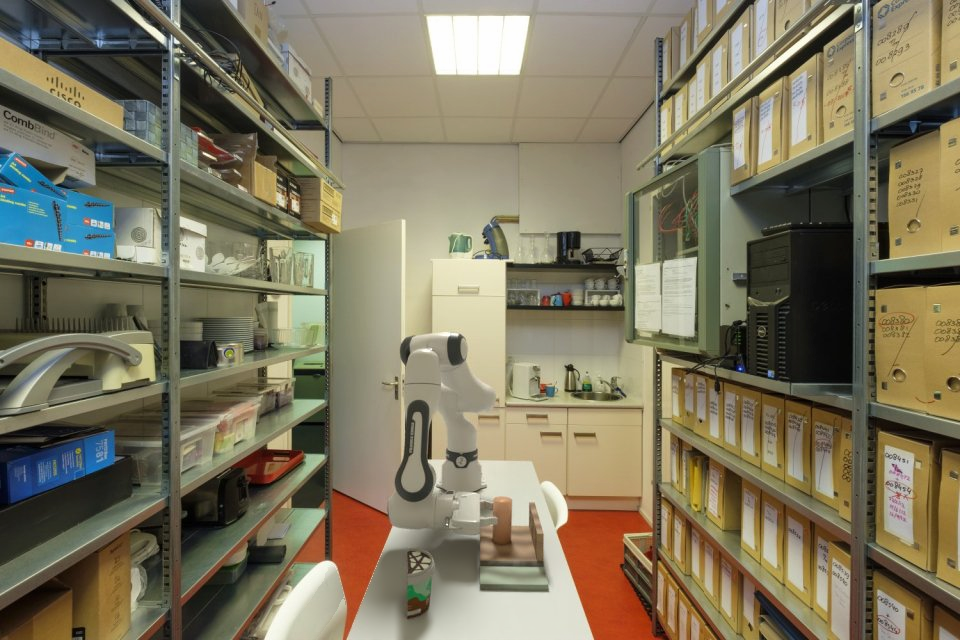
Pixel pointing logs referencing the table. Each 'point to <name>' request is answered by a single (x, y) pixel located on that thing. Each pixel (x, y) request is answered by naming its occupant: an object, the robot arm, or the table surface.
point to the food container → (418, 581)
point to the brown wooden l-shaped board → (514, 557)
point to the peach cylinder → (502, 520)
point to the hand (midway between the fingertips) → (496, 512)
